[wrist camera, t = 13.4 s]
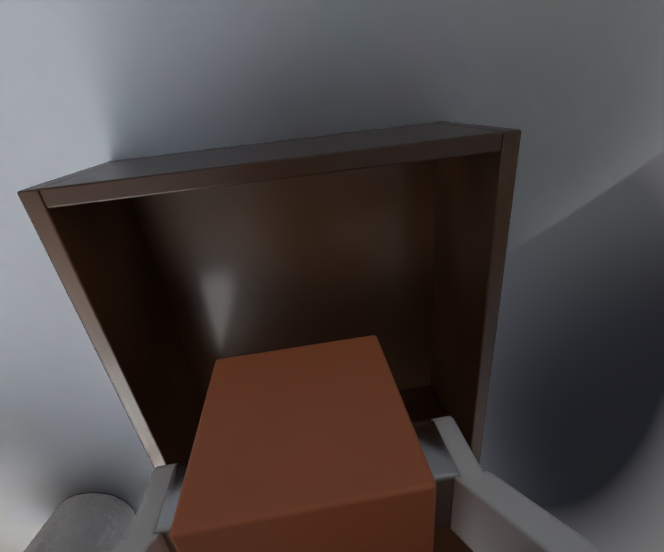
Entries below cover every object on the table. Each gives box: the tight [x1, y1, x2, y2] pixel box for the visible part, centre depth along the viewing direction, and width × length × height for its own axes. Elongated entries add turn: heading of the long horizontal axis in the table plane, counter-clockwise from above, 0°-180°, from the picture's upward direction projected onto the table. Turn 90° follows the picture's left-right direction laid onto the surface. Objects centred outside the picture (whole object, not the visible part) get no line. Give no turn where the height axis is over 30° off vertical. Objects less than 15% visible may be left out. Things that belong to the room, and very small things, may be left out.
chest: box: [18, 121, 521, 469], centre depth 17 cm, size 16×15×6 cm
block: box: [170, 335, 436, 552], centre depth 9 cm, size 4×4×4 cm
